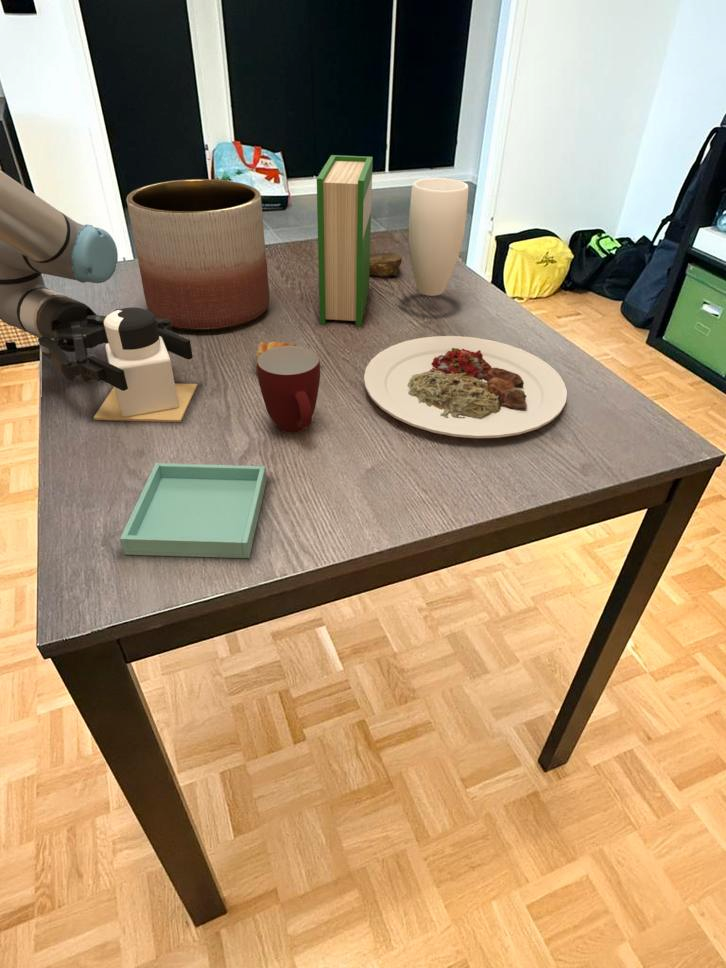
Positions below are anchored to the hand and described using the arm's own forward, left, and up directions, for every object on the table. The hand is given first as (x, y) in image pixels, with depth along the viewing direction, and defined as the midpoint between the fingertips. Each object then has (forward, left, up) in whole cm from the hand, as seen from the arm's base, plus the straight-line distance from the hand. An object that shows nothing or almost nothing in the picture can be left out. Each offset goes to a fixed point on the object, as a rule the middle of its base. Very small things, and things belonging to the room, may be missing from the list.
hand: (157, 364), depth 83 cm
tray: (+10, -22, -7) cm, 25 cm away
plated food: (+43, +8, -8) cm, 44 cm away
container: (-3, +2, -7) cm, 8 cm away
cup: (+40, +40, -7) cm, 57 cm away
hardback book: (+24, +39, -7) cm, 46 cm away
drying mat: (-3, +2, -7) cm, 9 cm away
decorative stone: (+30, +59, -8) cm, 67 cm away
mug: (+19, -4, -8) cm, 20 cm away
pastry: (+15, +14, -8) cm, 22 cm away
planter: (-1, +35, -7) cm, 36 cm away
